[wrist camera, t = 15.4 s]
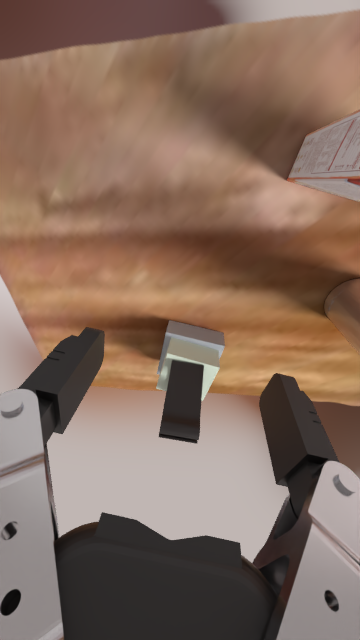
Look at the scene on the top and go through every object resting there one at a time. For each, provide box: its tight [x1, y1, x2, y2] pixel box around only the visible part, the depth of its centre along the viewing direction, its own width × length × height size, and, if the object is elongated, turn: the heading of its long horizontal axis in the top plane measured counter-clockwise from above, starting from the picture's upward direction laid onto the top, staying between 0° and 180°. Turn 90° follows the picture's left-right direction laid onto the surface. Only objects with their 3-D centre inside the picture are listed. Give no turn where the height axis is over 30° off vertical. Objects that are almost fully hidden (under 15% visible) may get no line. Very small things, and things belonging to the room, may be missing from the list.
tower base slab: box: [157, 320, 225, 375], centre depth 51 cm, size 12×12×5 cm
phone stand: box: [159, 360, 204, 443], centre depth 39 cm, size 9×6×12 cm, turn 171°
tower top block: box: [156, 337, 220, 401], centre depth 47 cm, size 10×10×5 cm
